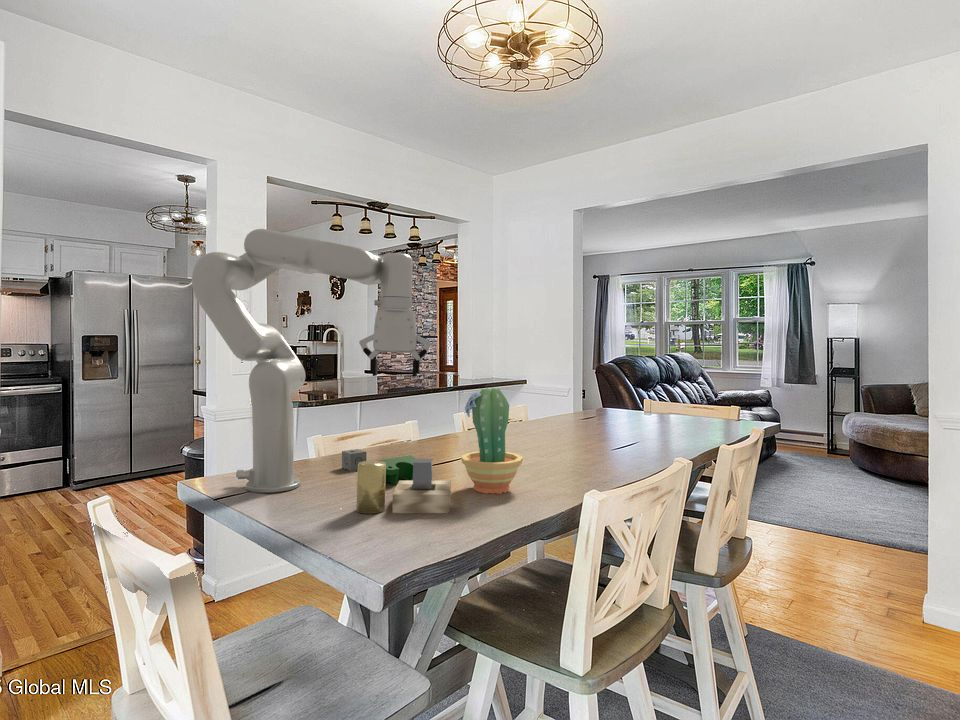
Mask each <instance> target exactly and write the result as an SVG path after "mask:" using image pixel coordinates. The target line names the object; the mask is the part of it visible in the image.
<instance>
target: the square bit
mask: <svg viewBox="0 0 960 720" xmlns="http://www.w3.org/2000/svg"><path fill="white" fill-rule="evenodd" d="M432 481H433V458H416V459H414V462H413V490H432Z"/></svg>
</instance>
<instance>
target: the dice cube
mask: <svg viewBox="0 0 960 720" xmlns="http://www.w3.org/2000/svg"><path fill="white" fill-rule="evenodd" d="M364 461H367V451H365V450H362V449H359V448H355V449H347V450H342V451H341V469H342V468H344V469H343V470H345V469H347V470H346V471H348V470H349V471H348V472H355V470H357V471H358V463H359V462H364Z"/></svg>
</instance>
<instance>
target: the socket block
mask: <svg viewBox="0 0 960 720" xmlns="http://www.w3.org/2000/svg"><path fill="white" fill-rule="evenodd" d="M451 481H452V480H432V490H413V480H407V479H405V480H404V479H400V480H398V481H397V485H395V488H394V491H393V493H392V514H450V510H449V509H450V508H451V507H450V506H451V498H452V494H451V492H452V490H451V489H452V487H451V485H452V484H451Z"/></svg>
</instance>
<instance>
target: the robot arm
mask: <svg viewBox="0 0 960 720" xmlns="http://www.w3.org/2000/svg"><path fill="white" fill-rule="evenodd" d="M243 249H244V251H245V253H243V254H242V255H240V256H236V255H233V254H230V253H227V252H222V251H221V252H220V251H214V252H208V253H206V254H204V255H202V256H201V257H200V258H199V259H198V260H197V262H196V263H195V264H194V267H193V269H192V270H193V271H192V273H191V286H192V291H193V294H194V296H195V298H196V301H197V302H198V304H199V306H200V308H202V310H203V311H204V313H205V314H206V315H207V317H208V318H209V320H210V321H211V322H212V324H213V325H214V327H215V329H216V330H217V332H218V334H219V335H220V336H221V338H222V339H223V341H224V342H225V343H226V345H227V346H228V347H229V349H230V351H231V352H232V354H233V355H234V356H235V357H236V358H237V359H239V360H241V361H244V362H256V363H257V364H255V366H254V367H253V368H252V369H251V372H250V374H249V377H248V389H249V394H250V399H251V400H250V401H251V413H252V417H251V418H252V421H251V422H252V423H251V424H252V468H250V469H249V470H247V469H237V470H236V473H235V477H236V478H237V479H238V480H247V481H248V482H246V484H245V489H246V490H247V491H248V492H252V493H260V494H261V493H262V494H265V493H266V494H268V493H269V494H271V493H281V492H286V491H290V490H294V489H296V488H298V487H299V486H301V480H300V479H299V478H298V477H296V476H294V475H295V474H294V469H295V468H294V460H295V459H294V453H295V451H294V439H295V438H294V437H295V436H294V435H295V434H294V430H295V429H294V428H295V427H294V408H293V407H294V406H293V402H292V397H291V396H292V394H294V393H297V392H298V391H299V390H301V388H302V387H303V386H304V384H305V382H306V381H305V380H306V370H305V368H304V366H303V364H302V362H301V361H300V359H299V358H298V356H297V355H296V354H295V351H294V350H292V348H291V346H290V344H289V343H288V342H287V341H286V339H285V338H284V336H283V335H282V333H281V332H279V330H278V329H277V328H275V327H274V326H272V325H270V324H267V323H260V322H258V321H257V320H255V318H254V317H253V315H252V314H251V313H250V312H249V310H248V309H247V307H246V305H245V304H244V303H243V302H242V300H241V299H240V298H239V297H238V296H237V295H236V294H235V293H234V292H233V291H244V290H245V291H246V290H249V289H250V288H252V287H254V286H256V285H258V284H259V283H261V282H263V281H264V280H266V279H268V278H269V277H271V276H272V275H273V274H276V273H277V272H279V271H280V270H282V269H285V270H288V271H294V272H298V273H302V274H308V275H309V274H322V275H328V276H334V277H337V278H342V279H345V280H346V279H347V280H350V281H354V282H358V283H359V284H363V285H366V286H373V285H380V297H379V299H375V300H374V302H373V303H374V306H376V307H379V308H380V310H376V313H375V314H376V315H375V318H374V326H373V334H371V335H369V336H368V335H367V337H364V338H363V339H361V340H359V342H358V343H359V345H360V347H361V349H362V352H363V353H364V354H365V355H366V356H367V357H368V358H369V360H370V361H369V362H370V363H369V364H370V366H369V368H370V369H369V370H370V373H372V376H373V377H375V376H378V372H379V371H378V370H379V361H378V358H377V357H378V355H380V353H381V352H382V353H384V352H385V353H409V354H411V356H412V357H413V361H412V377H413V378H416V377H418V375H417V374H420V364H421V363H420V360H421V359H422V358H424V356H426V354H427V353H428V352H429V349H430V348H431V346H432V342H431V341H429V340H427V339H426V338H424V337H421V336H420V335H418V333H417V321H416V320H417V319H416V315H415V311H413V310H412V309H413V269H414V268H413V264H414V263H413V261H414V260H413V258H412V257H411V255H409V254H407V253H401V252H388V253H385V254H383V255H377V254H373V253H372V252H370V251H368V250H365V249H363V248H359V247H355V246H350V245H345V244H341V243H336V242H331V241H324V240H321V239H320V240H319V239H316V238H312V237H311V238H310V237H304V236H300V235H296V234H292V233H286V232H282V231H276V230H273V229H267V228H266V229H265V228H258V229H257V228H256V229H253V230H251V231H250V232H249V233H247V235H246V236H245V239H244V243H243ZM372 341H373V342H372ZM370 342H372V343H373V344H372V347H373V350H371V349H370V348H369V347H368V343H370ZM418 342H419V343H420V344H422V345H423V348H422V350H421V351H419V352H418V351H417V347H418Z"/></svg>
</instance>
